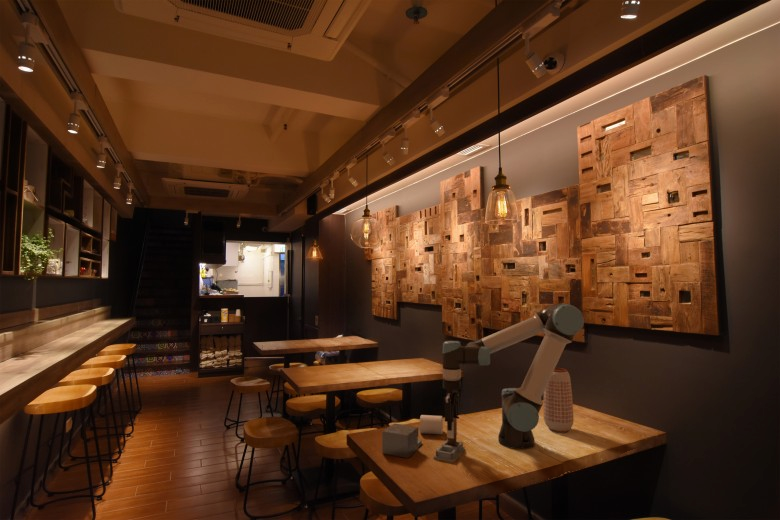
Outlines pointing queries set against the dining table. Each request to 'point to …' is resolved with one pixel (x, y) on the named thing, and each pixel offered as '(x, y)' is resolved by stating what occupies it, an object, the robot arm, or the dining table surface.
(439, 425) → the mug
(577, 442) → the dining table surface
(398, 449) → the block
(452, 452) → the socket board
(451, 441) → the peg
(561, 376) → the planter
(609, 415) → the dining table surface
